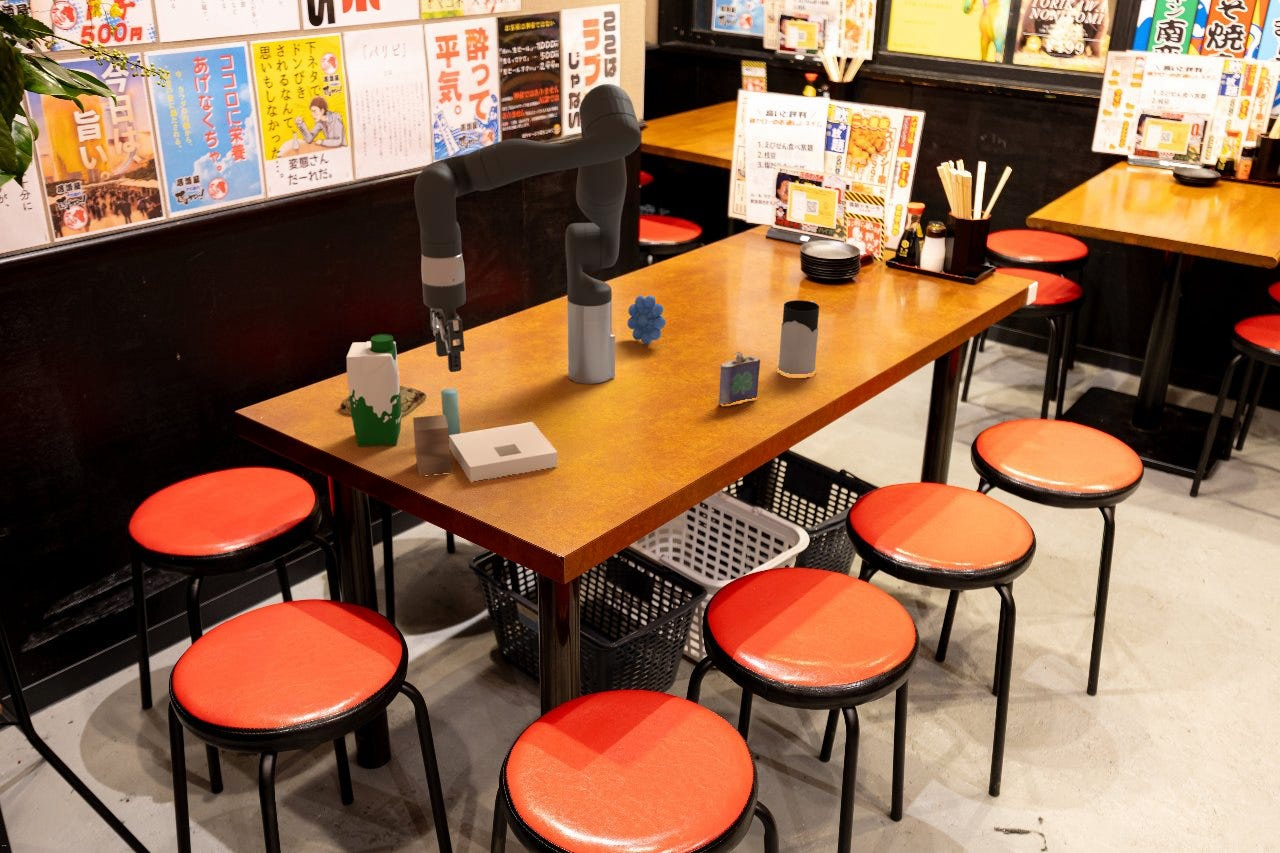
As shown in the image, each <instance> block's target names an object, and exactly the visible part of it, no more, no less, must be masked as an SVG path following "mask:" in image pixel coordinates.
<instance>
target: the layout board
mask: <svg viewBox="0 0 1280 853" xmlns="http://www.w3.org/2000/svg"><path fill="white" fill-rule="evenodd" d="M449 445H450V450H451V451H450V453H451V454H452V455H453V457H454V458H455V460H456V459H457V460H456V461H458V462H459V463H458V462H457V463H458V465H459V464H460V465H459V467H460V468H461V467H462V468H461V469H462V471H463V470H464V471H463V472H465V473H466V474H465V473H464V474H465V476H466V475H467V476H468V477H467V476H466V477H467V478H469V479H470V480H469V479H468V480H469V482H470V481H477V482H479V481H478V480H483V479H488V480H492V478H494V479H497V477H499V478H503V477H502V476H505V477H507V476H506V475H511V476H513V475H512V474H516V475H520V474H519V473H522V474H526V473H525V472H527V473H531V472H530V471H533V472H536V471H535V470H538V471H541V470H540V469H544V470H547V469H546V468H550V469H553V468H552V467H555V468H557V467H556V466H559V465H558V464H559V463H558V459H559V458H558V451H557V450H556V449H555V447H554V446H553V445H552V443H551V442H550V440H548V439H547V437H545V435H544V434H543V433H542V431H540V430H539V428H538V427H537V426H536V424H535V423H534V422H533V421H530V422H523V423H518V424H517V423H516V424H510V425H506V426H505V425H504V426H498V427H491V428H487V429H486V428H485V429H480V430H473V431H467V432H460V434H454V435H449ZM490 478H491V479H490ZM483 481H484V480H483Z"/></svg>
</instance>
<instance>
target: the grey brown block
mask: <svg viewBox="0 0 1280 853" xmlns="http://www.w3.org/2000/svg"><path fill="white" fill-rule="evenodd" d="M412 421H413V433H414V444H415V445H414V447H415V460H416V467H418V468H417V471H418V472H419V473H418V472H417V473H418V477H419V476H424V477H426V476H425V475H434V474H443V473H451V474H452V462H451V451H450V441H449V429H448V424H447V420H446V416H445V415H443V414H439V415H428V416H427V415H426V416H415V417H412ZM434 476H435V475H434Z"/></svg>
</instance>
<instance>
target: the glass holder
mask: <svg viewBox="0 0 1280 853" xmlns="http://www.w3.org/2000/svg"><path fill="white" fill-rule="evenodd" d="M782 312H783V313H782V314H783V315H782V323H781V329H780V344H779V355H778V356H779V357H778V358H779V360H778V365H777V367H778V368H779V370H781V371H783V372H785V373H789V374H808V373H812V372H813V371H815V369H816V359H817V358H816V357H817V348H818V347H817V346H818V338H819V337H818V336H819V326H818V325H819V316H820V315H819V314H820V306H819V304H817V303H816V302H815V301H814V300H810V301H809V300H803V299H802V300H801V299H799V300H798V299H795V300H788V301H786V302H784V304H783V311H782Z"/></svg>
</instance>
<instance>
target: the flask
mask: <svg viewBox="0 0 1280 853" xmlns="http://www.w3.org/2000/svg"><path fill="white" fill-rule="evenodd" d="M734 355H736V357H735V359H734V360H730V361H726V362H724V363H721V365H720V375H719V395H718V405H719V404H723V405H726V404H731V403H733V402H736V401H740V400H745V399H752V398H756V397H757V398H758V390H759V388H758V387H759V375H760V367H761V366H760V365H761V359H760V358H759V357H756V356H751V355H750V356H746V357H744V355H743V352H741V351H736V352H735V353H734Z"/></svg>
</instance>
